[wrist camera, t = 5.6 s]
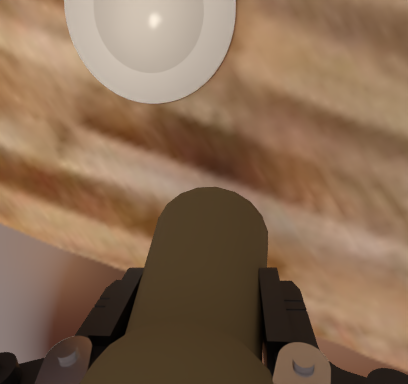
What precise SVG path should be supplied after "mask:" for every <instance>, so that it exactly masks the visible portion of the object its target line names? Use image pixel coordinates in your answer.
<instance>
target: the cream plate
mask: <svg viewBox="0 0 408 384" xmlns="http://www.w3.org/2000/svg"><path fill="white" fill-rule="evenodd" d="M64 5H65V15H66V21H67V25H68V29H69V33H70V36H71V39H72V41H73V44H74V47H75V49H76V50H77V52H78V54H79V56H80V58H81V60H82V61H83V63H84V64H85V66H86V67H87V68H88V70H89V71H90V72H91V73H92V74H93V76H94V77H95V78H96V79H97V80H98V81H99V82H101V83H102V84H103V85H104V86H106V87H107V88H108V89H109V90H111V91H113V92H114V93H116V94H118V95H120V96H122V97H124V98H127V99H129V100H133V101H136V102H141V103H148V104H159V103H166V102H172V101H175V100H179V99H182V98H184V97H186V96H188V95H190V94H192V93H193V92H195V91H197V90H198V89H200V88H201V87H202V86H203V85H204V84H205V83H207V82H208V81H209V79H210V78H211V77H212V76H213V75H214V74H215V72H216V71H217V70H218V68H219V67H220V65H221V64H222V62H223V60H224V58H225V56H226V54H227V51H228V49H229V46H230V44H231V40H232V36H233V32H234V25H235V16H236V0H64Z"/></svg>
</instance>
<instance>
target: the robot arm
mask: <svg viewBox="0 0 408 384" xmlns="http://www.w3.org/2000/svg"><path fill="white" fill-rule="evenodd" d="M143 270H144V268H129V269H128V270H127V272H126V273H125V275H124V277H123V278H122V280H116V281H114V282H113V283H112V284H111V285H110V286H108V287H107V288H106V289H105V291H104V292H103V294H102V295H101V297H100V300H98V301H97V303H96V304H95V307H94V308H93V309H92V310H91V312H90V313H89V315H88V317H87V318H86V319H85V321H84V322H83V324H82V325H81V327H80V328H79V330H78V331H77V333H76V334H75V336H73V337H69V338H67V339H64V340H62V341H60V342H59V343H57V344H56V345H55V346H53V347H52V348H51V349H50V351H49V352H48V353H47V354H46V356H45V358H42V359H38V360H33V361H29V362H25V363H21V364H18V361H17V358H16V356H15V355H14V354H13V353H9V352H4V353H0V384H79V383H80V382H81V380H82V379H83V377H84V376H85V374H86V373H87V371H88V370H89V368H90V367H91V365H92V364H93V363H94V362H95V360H96V359H97V358H98V357H99V356H100V355H101V354H102V352H103V351H104V350H105V349H106V348H107V347H108V346H109V345H110V344H112V343H113V342H115V341H116V340H118V339H119V338H121V337H123V336H124V335H125V333H126V329H127V326H128V322H129V319H130V315H131V312H132V308H133V305H134V301H135V298H136V295H137V291H138V288H139V284H140V281H141V277H142V274H143ZM259 281H260V293H261V305H262V318H263V358H264V365H265V366H266V367H267V368H268V369H269V370H270V373H271V375H272V377H273V379H272V380H273V383H274V384H408V375H406V374H404V373H402V372H399V371H397V370H393V369H388V368H380V369H376V370H373V371H372V372H370V373H369V374H368V376H367V378H366V377H363V376H360V375H357V374H353V373H350V372H347V371H345V370H342V369H340V368H338V367H336V366H335V365H333V364H332V363H331V362H329V361H328V359H327V358H326V356H325V355H324V354H323V353H322V352H321V351H320V350H319V348H318V345H317V342H316V339H315V336H314V332H313V329H312V326H311V323H310V320H309V317H308V313H307V311H306V307H305V304H304V302H303V298H302V294H301V291H300V289H299V288H298V287H297V286H296V285H295V284H294V283H293V282H292V281H280V279H279V275H278V271H277V268H259Z"/></svg>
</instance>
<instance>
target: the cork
mask: <svg viewBox="0 0 408 384" xmlns="http://www.w3.org/2000/svg"><path fill="white" fill-rule="evenodd" d="M267 252H268V231H267V228H266V225H265V223H264V220H263V217H262V215H261V214H260V213H259V212H258V210H257V209H256V208H255V207H254V206H253V204H252V203H251V202H250V201H248V200H247V199H245V198H244V197H242V196H240V195H239V194H237V193H236V192H233V191H229V190H226V189H222V188H218V187H203V188H195V189H192V190H190V191H187V192H184V193H181V194H180V195H178V196H177V197H176V198H175V199H173V200H172V201H171V202H169V203H168V204H167V205H166V207H165V209H164V210H163V212H162V213H161V215H160V217H159V218H158V222H157V225H156V229H155V232H154V236H153V239H152V243H151V246H150V250H149V253H148V256H147V260H146V263H145V267H144V270H143V274H142V277H141V281H140V284H139V288H138V291H137V295H136V298H135V301H134V305H133V308H132V312H131V315H130V319H129V322H128V326H127V329H126V333H125V335H124V336H123V337H121V338H119V339H118V340H116V341H115V342H113V343H112V344H110V345H109V346H108V347H107V348H106V349H105V350H104V351H103V352H102V354H101V355H100V356H99V357H98V358H97V359H96V360H95V362H94V363H93V364H92V365H91V367H90V368H89V370H88V371H87V373H86V374H85V376H84V377H83V379H82V380H81V382H80V383H79V384H274V383H273V380H272V379H273V377H272V375H271V373H270V370H269V369H268V368H267V367H266V366H265V365H264V364H263V363H262V350H263V318H262V305H261V293H260V281H259V268H267Z"/></svg>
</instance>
